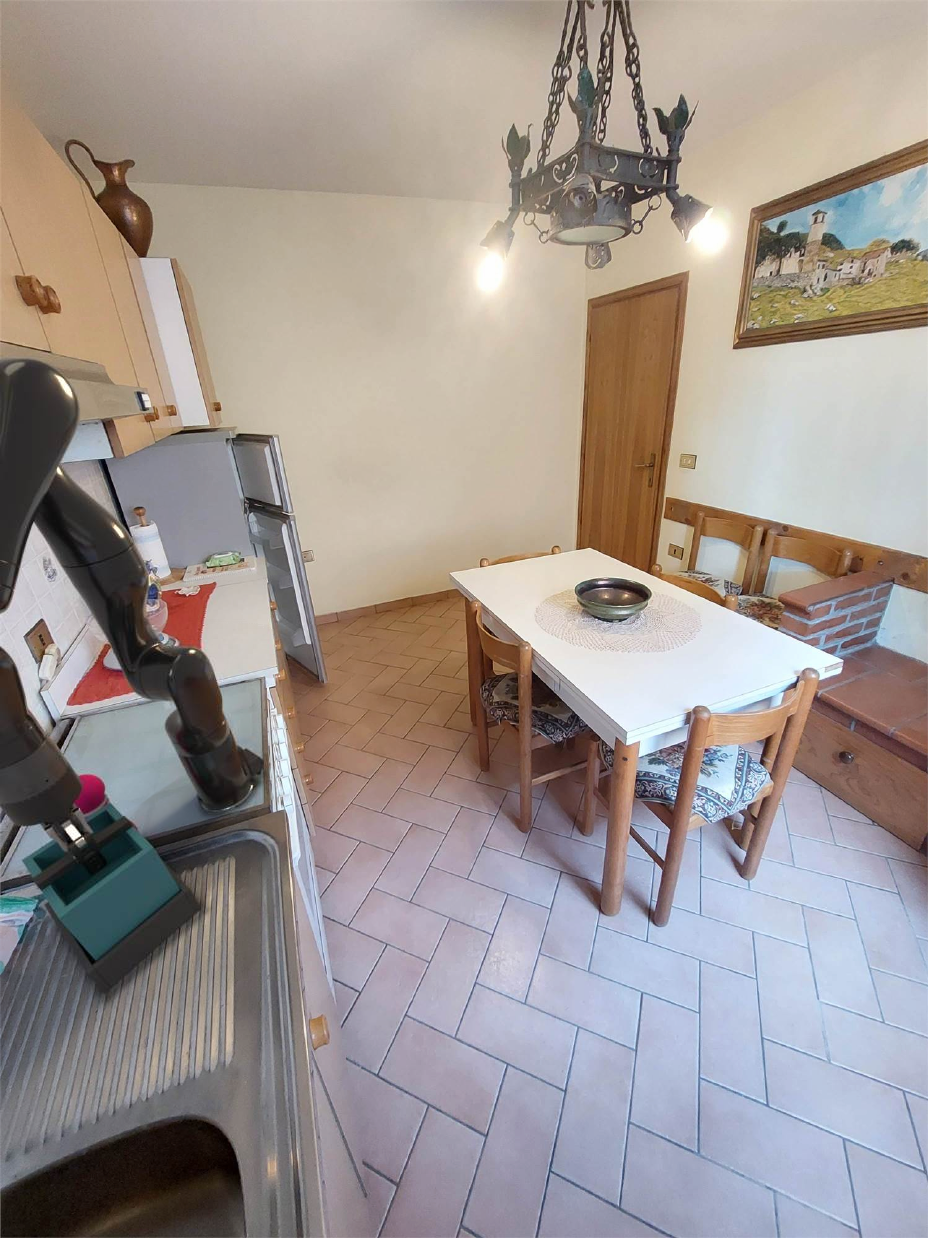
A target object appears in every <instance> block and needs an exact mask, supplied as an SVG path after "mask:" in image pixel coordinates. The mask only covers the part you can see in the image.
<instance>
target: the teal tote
mask: <svg viewBox="0 0 928 1238" xmlns="http://www.w3.org/2000/svg"><path fill="white" fill-rule="evenodd" d="M84 820H85V821H86V823H87V824H88V825H89V827H90V828H91V830H92V831H93V836H92V837H93V838H94V840H95V841H96V843H97V845H99V846H100V847H101V848H100V850H101V851H100V853H101V854H102V856H103V857H104V858H105V860H106V861H107V865H106V866H105V867H104V868H102V869H101V870H99V871H98V872H97V873H95V874H94V875H90V874H89V873H88V872H87V870H86V869H85V868H84V866H83V865H82V864H80V863H77V861H76V860H77V859H74V857H73V856H74V855H73V854H72V852H71V851H70V852H69V851H68V852H65V851H64V850H63V849H62V848H61V847H60V845H59V844H58V843H57V841H56V840H55V839H52V840H50V841H49V842H47V843H46V844H44V845H42V846H41V847H40V848H37V850H35V851H33V852H32V853H30V854H29V855H27V856H25V857H24V858H22V860H21V862H22V864H23V865H24V866H25V868H26V870H27V871H28V873H29V874H30V876H31V877H32V881H33V883H34V884H35V885H36V887H37V888H38V889H39V890H40V892H41V893H42V895H43V897H44V898H45V899H46V902H49V904H50V905H51V907H52V908H53V910H54V912H55V913H56V915H57V916H58V918H59V919H60V920H61V921H62V923H63V924H64V925H65V926H66V927H67V928H68V929H69V931H70V932H71V933H72V934H73V935H74V936H75V937H76V939H77V940H78V941H79V942H80V943H81V944H82V945H83V947H84V948H85V949H86V950H87V951H88V952H89V953H90V955H91V956H92V957H93V958H94V959H95V960H96V961H97V960H98V959H99V958H100V957H102V956H103V955H104V954H105V953H106V952H108V951H109V950H110V949H111V948H112V947H114V946H115V945H116V944H117V943H118V942H119V941H121V940H122V939H123V938H124V937H125V936H127V935H128V934H129V933H130V932H131V931H133V930H134V929H135V928H136V927H137V926H138V925H140V924H141V923H142V922H143V921H144V920H146V919H147V918H148V917H149V916H150V915H152V914H153V913H154V912H155V911H156V910H158V909H159V908H160V907H161V906H162V905H163V904H165V903H166V902H167V901H168V900H169V899H171V898H172V897H173V896H174V895H175V894H177V893H178V892H179V891H180V889H179V887H178V886H177V884H176V883H175V881H174V879H173V878H172V876H171V875H170V873H169V872H168V870H167V868H166V867H165V865H164V864H163V862H162V860H163V859H162V858H161V857H160V856H159V854H158V853H157V851H156V849H155V848H154V846H153V845H152V844H151V843H150V841H148V840H147V839H146V838H145V837H144V836H143V835H142V834H141V833H140V831H139V830H138V831H137V830H136V829H135V828H134V827H133V825H132V824H131V822H132V821H131V820H130V819H129V818H128V817H126V815H123V814H122V813H121V812H120V811H119V810H118V809H117V808H116V807H115V806H114V805H113V804H112V802H110V803H109V804H107V805H105V806H104V807H102V808H101V809H99V810H98V811H96V812H95V813H93V814H92V815H90V816H89V817H87V818H86V819H84ZM129 820H130V821H131V822H130V821H129ZM82 827H83V826H82ZM160 858H161V859H162V860H161V859H160Z"/></svg>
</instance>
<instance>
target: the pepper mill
mask: <svg viewBox="0 0 928 1238" xmlns="http://www.w3.org/2000/svg"><path fill="white" fill-rule="evenodd" d="M76 774H77V776H78V777H79V779H80V780H81V782H82V785H83V788H82V792H81V794H80V796H79V797H78V799H77V800H76V801H75V802H74V803H75V805H76V806H78V807H79V809H80V810H81V811H82V813H83V814H84V816H85V819H86V818H87V817H89V816H90V815H92V814H93V813H95V812H96V811H98V810H99V809H101V808H102V807H104V806H105V805H107V804H109V803H111V800H110V798H109V797H108V795H107V793H105V792H106V785H105V783H104V781H103V780H102V778H100V777H99V776H97V775H95V774H90V773H88V774H85V773H84V774H80V775H79V774H78V773H76ZM128 820H129V821H130V822H131V824H132V825H133V827H134V828H135V829H136V830H137V831H138V832H139V829H138V827H137V826H136V824H135V822H133V821H132V820H130V819H128Z"/></svg>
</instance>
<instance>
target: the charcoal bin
mask: <svg viewBox="0 0 928 1238" xmlns="http://www.w3.org/2000/svg"><path fill="white" fill-rule="evenodd" d="M160 859H161V860H162V862H163V864H164V865H165V867H166V868H167V870H168V872H169V873H170V875H171V876H172V878H173V879H174V881H175V883H176V884H177V886H178V887H179V889H180V891H179V892H178V893H177V894H175V895H174V896H173V897H172V898H171V899H169V900H168V901H167V902H166V903H165V904H163V905H162V906H161V907H160V908H159V909H158V910H156V911H155V912H154V913H153V914H152V915H150V916H149V917H148V918H147V919H146V920H144V921H143V922H142V923H141V924H140V925H138V926H137V927H136V928H135V929H134V930H133V931H131V932H130V933H129V934H128V935H127V936H125V937H124V938H123V939H122V940H121V941H119V942H118V943H117V944H116V945H115V946H114V947H112V948H111V949H110V950H109V951H108V952H106V953H105V954H104V955H103V956H102V957H100V958H99V959H98V960H97V961H96V960H95V959H94V958H93V957H92V956H91V955H90V953H89V952H88V951H87V950H86V949H85V948H84V947H83V945H82V944H81V943H80V942H79V941H78V940H77V939H76V937H75V936H74V935H73V934H72V933H71V932H70V931H69V929H68V928H67V927H66V926H65V925H64V924H63V923H62V921H61V920H60V919H59V918H58V916H57V915H56V913H55V912H54V910H53V908H52V907H51V905H50V904H49V902H48V901H46V903H44V904H43V906H44V907H45V909H46V911H47V912H48V914H49V916H50V917H51V919H52V920H53V922H54V923H55V925H56V927H57V928H58V929H59V931H60V933H61V935H62V936H63V938H64V939H65V941H66V942H67V944H68V946H69V947H70V949H71V951H72V952H73V953H74V955H75V956H76V958H77V959H78V961H79V963H80V964H81V966H82V968H83V969H84V971H85V973H86V974H87V975H88V976H89V978H90V979H91V980H92V981H93V982H94V983H95V984H96V986H97V987H98V988H99V990H101V991H102V993H104V994H107V993H108V992H109V991H111V990H112V989H113V988H114V987H115V986H116V985H117V984H118V983H120V982H121V981H122V980H123V979H124V978H125V977H126V976H127V975H129V974H130V973H131V972H132V971H133V970H135V968H137V966H139V965H140V964H141V963H142V962H143V961H144V960H145V959H146V958H147V957H149V956H150V955H151V954H152V953H153V952H155V951H156V950H157V949H158V948H159V947H160V946H161V945H162V944H164V943H165V942H166V941H167V940H168V939H169V938H170V937H171V936H172V935H174V934H175V933H176V932H177V931H178V930H179V929H180V928H181V927H183V926H184V925H185V924H187V922H188V921H190V919H191V918H193V917H194V916H195V915H196V914H197V913H198V912H200V911H201V910H202V907H201V905H200V903H199V902H198V900H197V898H196V896H195V895H194V893H193V891H192V890H191V888H190V887H189V885H187V884H186V883H185V881H184V880H182V879H181V878H180V877H179V875H177V874H176V873H175V872H174V870H173V869H172V868H171V867H170V866H169V865H168V864H167V863H166V862H165V861H164V860H163V859H162V858H161V857H160Z"/></svg>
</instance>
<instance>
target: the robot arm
mask: <svg viewBox="0 0 928 1238" xmlns="http://www.w3.org/2000/svg"><path fill="white" fill-rule="evenodd" d="M80 418H81V405H80V401H79V398H78V395H77V392H76V390H75V388H74V387H73V385H72V384H71V383H70V381H69V379H68V378H66V376H65V375H64V374H63V373H62V372H61V371H59V370H58V369H57V368H55V367H54V366H52V365H50V364H48V363H47V362H44V361H42V360H38V359H33V358H26V357H23V358H22V357H19V358H17V357H16V358H14V357H13V358H12V357H11V358H3V359H0V615H1V614H4V613H5V612H6V611H7V610H8V609H9V607H10V605H11V603H12V601H13V596H14V594H15V590H16V586H17V582H18V578H19V574H20V570H21V566H22V562H23V558H24V553H25V551H26V547H27V543H28V539H29V537H30V534H31V531H32V528H33V525H35V527H36V528H37V529H38V531H39V532H40V534H41V535H42V537H43V538H44V540H45V541H46V543H47V545H48V546H49V548H50V550H51V551H52V553H53V555H54V557H55V559H56V560H57V563H58V564H59V565H60V566H61V568H62V570H63V571H64V573H65V575H66V576H67V578H68V579H69V581H70V583H71V584H72V586H73V588H74V589H75V590H76V591H77V593H78V594H79V596H80V597H81V599H82V600H83V602H84V603H85V606H87V608H88V610H89V611H90V613H91V615H92V616H93V618H94V620H95V622H96V624H97V625H98V627H99V628H100V630H101V631H102V633H103V635H104V636H105V638H106V640H107V642H108V644H109V646H110V648H111V650H112V653H113V654H114V657H115V658H116V660H117V662H118V664H119V667H120V670H121V671H122V674H123V676H124V678H125V680H126V681H127V683H128V686H130V688H131V689H132V691H133V692H134V693H135V694H136V695H137V696H139V697H141V698H142V699H145V700H150V701H157V702H170V703H171V702H172V703H173V704H174V706H175V709H174V710H173V711H172V712H170V714H168V716H167V717H166V719H165V722H164V730H165V732H166V735H167V737H168V739H169V740H170V742H171V743H170V744H171V745H172V746H173V748H174V751H175V753H176V754H177V757H178V758H179V760H180V762H181V764H182V767H183V768H184V771H185V772H186V775H187V776H188V778H189V779H188V780H189V781H190V782H191V784H192V786H193V789H194V790H195V793H196V797H197V801H198V803H199V804H200V805H201V807H202V808H204V809H205V810H206V811H208V812H222V811H226V810H228V809H231V808H233V807H234V808H237V807H239V806H240V805H242V804H243V803H244V802H246V801H247V799H248V798H249V797H250V796H251V794H252V792H253V790H254V788H255V787H256V786H258V782H257V780H256V779H257V778H256V777H255V776H256V775H257V776H261V774H262V771H263V770H264V769H265V767H264V766H265V762H264V759H263V758H262V757H260V756H259V755H257V754H256V753H254V752H253V751H251V750H250V749H248V748H246V747H245V748H243V747H241V746H240V745H238V744H237V742H236V739H235V736H234V734H233V732H232V731H233V730H232V729H231V727H230V724H229V722H228V720H227V718H226V715H225V712H224V709H223V708H224V706H223V705H224V703H223V702H224V701H223V695H222V691H221V688H220V686H219V683H218V680H217V676H216V674H215V670H214V668H213V665H212V663H211V660H210V659H209V657H208V655H207V654H206V653H205V652H204V650H202V649H201V648H199V647H196V646H188V645H167V644H164V642H162V640H161V639H160V638H159V636H158V635H157V633H156V632H155V629H154V628H153V626H152V624H151V622H150V620H149V617H148V613H147V603H148V597H149V588H150V576H149V575H150V574H149V570H148V568H147V565H146V563H145V560H144V558H143V557H142V554H141V553H140V551H139V549H138V547H137V545H136V543H135V541H134V540H133V538H132V536H131V534H130V533H129V531H128V530H127V528H126V527H125V526H124V524H122V522H120V521H119V519H117V518H116V516H115V515H114V514H113V513H111V512H110V510H108V509H106V508H105V507H104V506H103V504H101V503H100V502H98V501H97V500H96V499H95V498H94V497H92V496H91V495H90V494H89V493H88V492H87V491H86V490H84V489H83V488H82V487H81V486H80V485H79V484H78V483H77V482H76V481H75V480H74V479H73V478H72V477H71V476H70V474H69V473H68V472H67V471H66V469H65V468H64V465H62V461H63V458H64V456H65V454H66V453H67V451H68V449H69V446H70V445H71V443H72V440H73V438H74V436H75V434H76V432H77V429H78V426H79V423H80ZM77 774H78V773H77V772H76V771H75V770H74V768H73V767H72V765H71V764H70V762H69V761H68V759H67V758H66V756H65V754H64V753H63V752H62V750H61V749H60V748H59V746H58V745H57V743H56V742H55V741H54V740H53V739H52V738H51V737H50V736H49V735H48V734H47V733H46V732H45V730H44V728H43V727H42V726H41V724H40V722H39V721H38V719H37V718H36V717H35V715H34V713H32V711H31V710H30V709H29V706H28V701H27V697H26V693H25V689H24V685H23V681H22V678H21V675H20V670H19V668H18V665H17V664H16V662H15V661H14V659H13V657H12V656H11V655H10V654H9V653H8V651H6V649H5V648H3V646H2V645H0V808H1V810H2V811H3V812H4V813H5V815H6V816H7V818H9V820H10V821H11V822H12V823H13V824H14V825H15V826H18V827H33V826H37V825H40V827H42V829H43V830H44V832H45V833H46V834H47V836H48V837H49V838H50V839H52V840H53V839H55V840H56V841H57V843H58V844H59V845H60V847H61V848H62V849H63V850H64V851H65V852H68V851H69V852H70V851H71V852H72V854H73V855H74V856H73V857H74V859H77V860H76V861H77V863H80V864H82V865H83V866H84V868H85V869H86V870H87V872H88V873H89V874H90V875H94V874H95V873H97V872H98V871H99V870H101V869H102V868H104V867H105V866H106V865H107V861H106V860H105V858H104V857H103V856H102V854H101V853H100V851H101V850H100V848H101V847H100V846H99V845H97V843H96V841H95V840H94V838H93V837H92V836H93V831H92V830H91V828H90V827H89V825H88V824H87V823H86V821H85V820H84V819H85V816H84V814H83V813H82V811H81V810H80V809H79V807H78V806H76V805H75V803H74V802H75V801H76V800H77V799H78V797H79V796H80V794H81V792H82V788H83V785H82V782H81V780H80V779H79V777H78V776H77ZM82 826H83V827H82Z"/></svg>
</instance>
